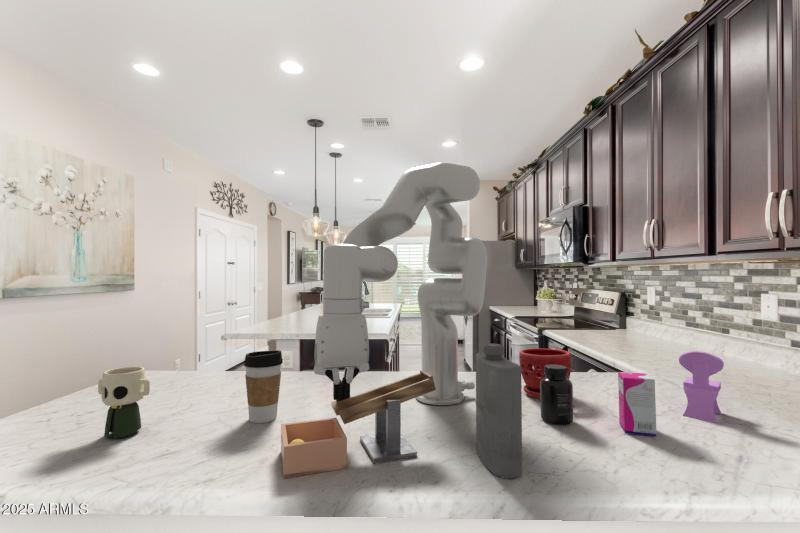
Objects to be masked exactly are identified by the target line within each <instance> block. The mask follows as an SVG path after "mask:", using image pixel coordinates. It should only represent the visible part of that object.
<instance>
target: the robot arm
mask: <svg viewBox="0 0 800 533" xmlns="http://www.w3.org/2000/svg"><path fill="white" fill-rule="evenodd" d="M480 187H481V182H480V178H479V175H478V173H477V172H476V170H475V169H473V168H472V167H470V166H468V165H462V164H461V165H460V164H456V163H452V162H435V163H431V164H424V165H421V166H416V167H411V168H410V169H407V170H405V171H404V172H403V173H402V175H401V176H400V178H399V179H398V181H397V182H396V184H395V185H394V187H393V188H392V191H391V192H390V194H388V196H387V198H386V200H385V202H384V203H383V205H381V207H380V208H379V209H377V210H376V211H375V212H373V213H372V214H370V215H369V216H368V217H366V218H365V219H364V220H362V221H361V222H359V223H358V224H357V226H355V227H354V228H353V229H352V230H351V231H350V232H349V233H348V234H347V236H346V238H345V239H344V240H343V242H342V243H336V244H335V243H334V244H328V245H327V246H326V247H325V249H324V251H323V285H322V286H323V287H322V288H323V291H322V293H323V294H322V296H323V297H322V299H323V300H322V303H323V304H322V314H319V315H318V318H317V323H316V327H315V328H316V330H315V341H314V367H313V373H314V374H315V375H319V376H326V377H327V378H328V379H329V380H330V381H331V382H332V384H333V385H332V386H333V388H332V389H333V391H332V392H333V393H332V397H333V401H336V402H339V401H342V400H345V399H348V398H350V396H351V384H352V382H353V380H354V379H355V378H356V376H358V375H359V374H360V373H364V372H367V371H369V370H370V364H369V360H370V342H369V331H368V330H369V329H368V323H367V317H366V314H364V310H366V309H370V302H369V301H366V300H364V298H363V282H366V283H383V282H386V281H388V280H390V279H391V278H393V277H394V276H395V274H396V273H397V270H398V266H399V261H398V258H397V256H396V254H395V253H394V251H393V250H391V249H390V248H388V247H387V246H383V245H381V244H383V243H385V242H387V241H390V240H392V239H395V238H397V237H400V236H402V235H403V234H405V233H407V232H408V231H410V230H411V229H412V228H413V227H414V226H415V224H416V221H417V220H418V218H419V216H420V215H421V213H422V211H423V209H424V207H425V208H426V211H427V212H428V215H429V217H430V222H431V226H430V228H431V229H430V235H429V244H428V254H427V263H428V264H427V266H428V268H429V269H430V271H432V272H433V273H436V274H440V275H441V274H443V275H461V278H454V277H453V278H452V277H437V278H434V277H433V278H429V279H427V280H425V281H423V282H422V283H421V284H420V286H419V287H418V290H417V302H418V307H419V308H418V309H419V313H420V320H421V323H420V325H421V326H420V327H421V370H424V371H425V372H427V373H429V374H430V375H432V376H433V380H434V384H435V388H436V390H434V391H432V392H429V393H427V394H424V395H421V396H419V397H416V398H415V399H417V401H419V402H420V403H423V404H426V405H427V404H428V405H433V406H451V405H457V404H459V403H462V402H463V401H464V398H465V395H464V394H465V393H464V391H465V390H474V389H475V388H476V384H475V382H474V381H465V380H460V379H458V378H459V373H458V372H459V371H458V370H459V369H458V368H459V366H458V364H459V362H458V360H459V354H458V353H459V352H458V351H459V350H458V347H459V346H458V345H459V344H458V343H459V341H458V339H459V338H458V337H459V334H458V328H457V326H456V322H455V321H454V319H453V317H452V316H460V317H474V316H476V315H478V314H479V313H480V312H481V310H482V308H483V305H484V300H485V291H486V278H487V270H488V269H487V268H488V253H487V248H486V245H485V244H484V242H483V241H482V240H481V239H480V238H477V237H472V236H471V237H469V236H466V237H463V220H462V218H461V216H460V214H459V213H458V211H457V210H456V209H455V208H454V206H453V205H452V204H453V203H458V202H459V203H460V202H467V201H472V200H474V199H475V198H476V196H478V194H479V191H480V189H481V188H480ZM451 203H452V204H451ZM340 368H341V369H343V368H344V372H343V377H342V379H341V378H340V377H341V376H340V371H339V369H340Z"/></svg>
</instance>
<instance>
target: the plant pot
mask: <svg viewBox="0 0 800 533" xmlns="http://www.w3.org/2000/svg"><path fill="white" fill-rule="evenodd" d="M518 354H519V355H518V356H519V357H518V358H519V359H518V360H519V366H520V367H521V378H522V379H523V382H524V384H525V385H524V386H523V391H524V393H526V394H527V396H529V397H531V398H535V399H539V400H540V381H541V379H542V378H543V377H545V374H544V366H545V365H562V366H566V367H567V373H568V376H566V377H567V378H568V379H569V380H570V377H571V367H572V361H571V360H572V359H571V353H570V352H569V351H567V350H564V349H555V348H543V347H542V348H541V347H539V348H526V349H521V350H519V353H518ZM533 368H534V369H533Z"/></svg>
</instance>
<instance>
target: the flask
mask: <svg viewBox="0 0 800 533" xmlns="http://www.w3.org/2000/svg"><path fill="white" fill-rule="evenodd" d="M504 350H505V348H504V346H503V345H502V344H500V343H486V344H484V345H483V351H482V350H481V351H478V352H477V353H476V354H475V430H476V431H475V442H476V443H475V446H476V448H475V450H476V452H477V455H478V457H479V459H480V460H481V462H482V464H483V465H484V466H485V467H486V468H487V469H488V470H489V472H490V473H492V474H493V475H495V476H496V477H499V478H503V479H509V480H511V479H516V478H519V477H521V476H522V474H523V433H522V432H523V428H522V427H523V424H522V423H523V421H522V420H523V416H522V414H523V413H522V412H523V409H522V408H523V407H522V404H523V403H522V374H521V367H520V364H519V363H515V362H513V361H511V360H509V359H507V358H506V357H505V356H504V355H505V353H504V352H505V351H504Z"/></svg>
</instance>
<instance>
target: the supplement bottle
mask: <svg viewBox="0 0 800 533" xmlns="http://www.w3.org/2000/svg"><path fill="white" fill-rule="evenodd" d="M544 374H545V377H543V378H542V379H541V381H540V399H539V400H540V418H541V419H542V421H544V422H545V423H547V424H551V425H555V426H568V425H572V424H573V422H574V389H573V387H574V386H573V382H572V381H571V379H570V378H569V379H568V378H567V377H566V376H568V373H567V367H566V366H562V365H545V366H544Z"/></svg>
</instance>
